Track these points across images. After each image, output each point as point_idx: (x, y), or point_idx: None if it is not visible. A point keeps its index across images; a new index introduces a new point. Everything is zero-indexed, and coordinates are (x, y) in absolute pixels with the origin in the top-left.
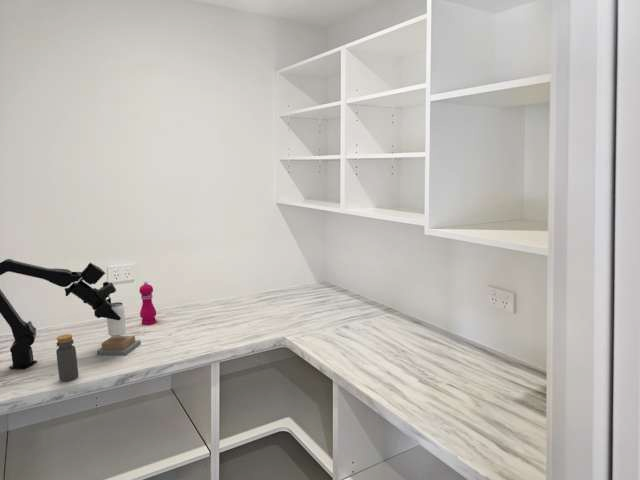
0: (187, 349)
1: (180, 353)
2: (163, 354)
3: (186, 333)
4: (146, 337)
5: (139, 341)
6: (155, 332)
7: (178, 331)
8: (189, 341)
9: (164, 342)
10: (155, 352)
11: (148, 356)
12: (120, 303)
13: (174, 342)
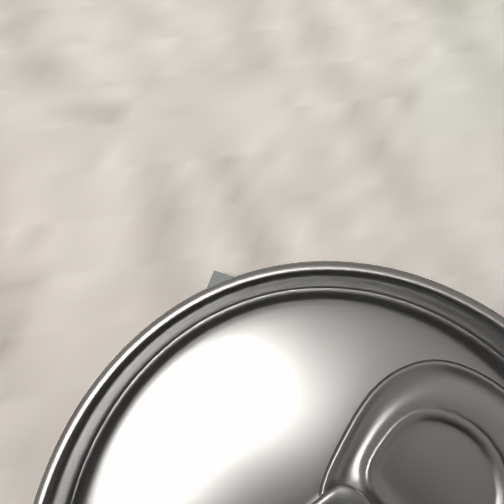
0: (402, 6)
1: (459, 33)
2: (460, 115)
3: (122, 30)
4: (93, 256)
5: (229, 276)
6: (10, 208)
7: (62, 73)
8: (272, 6)
9: (243, 131)
10: (416, 163)
11: (482, 195)
12: (139, 371)
13: (262, 77)
